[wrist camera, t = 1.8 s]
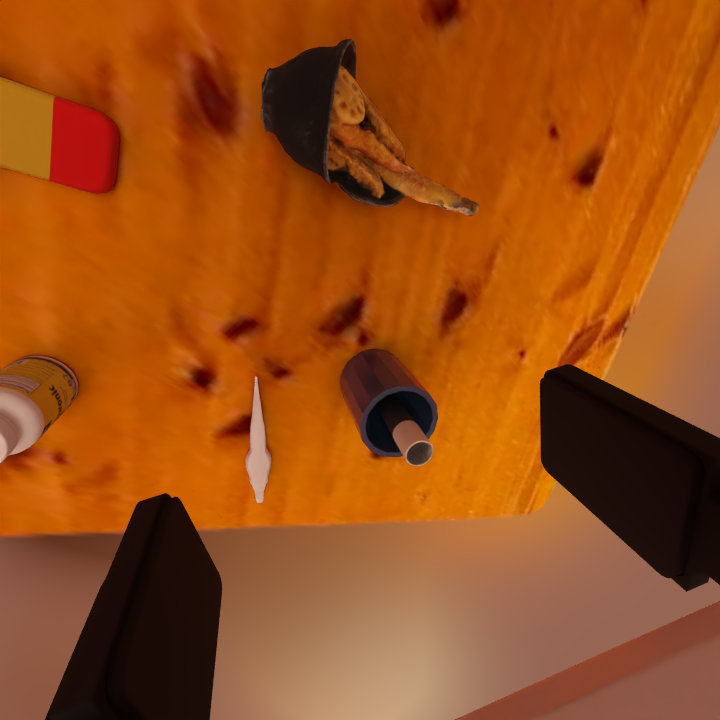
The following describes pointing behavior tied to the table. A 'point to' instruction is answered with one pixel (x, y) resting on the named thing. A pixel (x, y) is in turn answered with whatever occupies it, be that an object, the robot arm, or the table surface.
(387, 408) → the marker pen
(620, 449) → the robot arm
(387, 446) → the pen cup
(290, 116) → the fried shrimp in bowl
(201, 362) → the table surface
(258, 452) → the pale pink tapered rod
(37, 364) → the supplement bottle
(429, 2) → the table surface
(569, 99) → the table surface
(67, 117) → the popsicle
